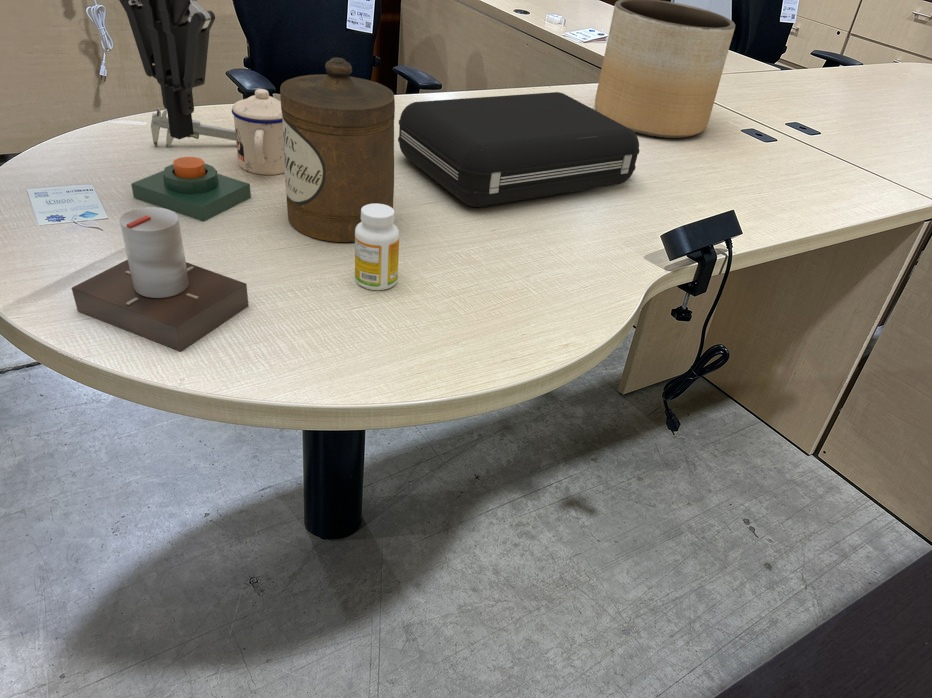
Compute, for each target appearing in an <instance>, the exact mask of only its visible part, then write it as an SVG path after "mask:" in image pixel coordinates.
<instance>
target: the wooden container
mask: <svg viewBox="0 0 932 698" xmlns="http://www.w3.org/2000/svg"><path fill="white" fill-rule="evenodd" d="M324 67H325V68H324V69H325V72H326V74H307V75H306V74H305V75H300V76H295V77H293V78H289V79H286V80H285V81H283V82H282V83H281V85H280V88H279V95H280V96H279V97H280V101H281V110H282V121H283V143H284V169H285V173H284V185H285V194H286V208H287V210H286V211H287V217H288V218H287V220H288V222H289V224H290V226H291V227H293V228H294V229H295V230H296V231H298V232H299V233H301V234H303V235H305V236H307V237H309V238H314V239H316V240H322V241H326V242H334V243H335V242H336V243H353V242H354V243H355V228H356V226H357V225H358V224H359V223H360V222H361V208H362V207H363V206H365V205H368V204H384V205H388V206H390V207H391V208H393V209H394V197H395V195H394V194H395V115H396V114H395V112H396V102H395V94H394V92H393V90H392V89H390V88H389V87H387V86H386V85H383V84H381V83H379V82H376V81H373V80H369V79H366V78H360V77H355V76H350V75H352V72H353V67H352V65H351V63H350V62H348V61H346V59H345V58H343V57H336V56H335V57H332V58H330V59H329V60H328V61H326V62H325V65H324Z"/></svg>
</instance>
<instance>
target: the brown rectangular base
mask: <svg viewBox="0 0 932 698" xmlns="http://www.w3.org/2000/svg"><path fill="white" fill-rule="evenodd" d="M186 268H187V274H188V280H189V285H188V287H187V289H186V290H184V291H183V292H182V293H180V294H177V295H175V296H171V297H166V298H150V297H145V296H142V295H140V294H138V293H137V292H136V291H135V290H134V287H133V283H132V278H131V273H130V268H129V264H128V259H127V258H126V260H123V261H122V262H120V263H118V264H115V265H114V266H111V267H109V268H107V269H105V270H104V271H102V272H99V273H98V274H95V275H93V276H92V277H90V278H87V279H85V280H84V281H81V282H80V283H78V284H76V285H74V286H72V287H71V292H72V295H73V299H74V304H75V306H76V310H77V312H78V313H82V314H85V315H87V316H89V317H92V318H94V319H96V320H99V321H102V322H105V323H107V324H109V325H112V326H115V327H117V328H119V329H122V330H125V331H126V332H127V331H128V332H130V333H133V334H135V335H137V336H140V337H143V338H145V339H148V340H150V341H153V342H155V343H157V344H160V345H163V346H165V347H168V348H170V349H173V350H175V351H178V352H182V351H184V350H186V349H187V348H189V347H190V346H191V345H192V344H194V343H196V342H197V341H199V340H200V339H201V338H203V337H204V336H206V335H208V334H209V333H210V332H212V331H213V330H215V329H216V328H218V327H220V326H221V325H222V324H224V323H225V322H227V321H228V320H229V319H231V318H233V317H234V316H236V315H237V314H239V313H241V311H243V310H244V309H246V308H247V307H249V295H248V285H247V283H246V282H243V281H240V280H238V279H234V278H232V277H229V276H226V275H223V274H221V273H218V272H216V271H213V270H209V269H207V268H204V267H201V266H199V265H195V264H192V263H190V262H187V261H186Z"/></svg>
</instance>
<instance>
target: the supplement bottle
mask: <svg viewBox="0 0 932 698" xmlns="http://www.w3.org/2000/svg"><path fill="white" fill-rule="evenodd" d="M399 252H400V230H399V228H398V226H397V225H396V224H395V209H394V207H393V208H391V207H390V206H388V205H384V204H368V205H365V206H363V207H362V208H361V222H360V223H359V224H358V225H357V226H356V228H355V242H354V279H355V282H356V283H357V285H359V286H360V287H362V288H364V289H367V290H372V291H385V290H388V289H391V288H393V287H394V286H396V284H397V282H398V277H399V254H400V253H399Z"/></svg>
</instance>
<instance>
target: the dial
mask: <svg viewBox="0 0 932 698" xmlns="http://www.w3.org/2000/svg"><path fill="white" fill-rule="evenodd" d="M119 225H120V229H121V235H122V240H123V244H124V249H125V253H126V260H127V259H128V264H129V268H130V273H131V278H132V283H133V287H134V290H135V291H136V292H137V293H138V294H140V295H142V296H145V297H150V298H166V297H171V296H175V295H177V294H180V293H182V292H183V291H184V290H186V289H187V287H188V285H189V280H188V274H187V268H186V262H187V261H186V255H185V250H184V249H185V248H184V243H183V242H184V241H183V237H182V236H183V235H182V230H181V223H180V218H179V215H178V213H177V212H174V211H171V210H168V209H165V208H162V207H159V206H147V207H138V208H134V209H132V210H128V211H127V212H124V213H123V214H122V215H121V216H120V218H119Z"/></svg>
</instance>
